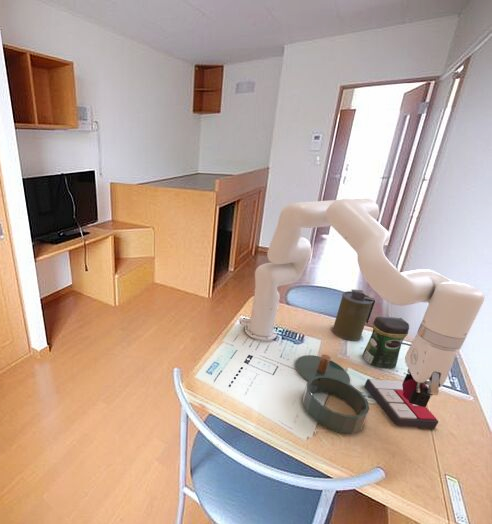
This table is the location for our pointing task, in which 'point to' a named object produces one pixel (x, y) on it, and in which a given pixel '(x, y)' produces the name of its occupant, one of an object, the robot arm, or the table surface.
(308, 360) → the lid
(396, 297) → the robot arm
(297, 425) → the table surface
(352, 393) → the pot
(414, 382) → the beet
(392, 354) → the coffee jar
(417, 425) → the calculator
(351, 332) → the canister
